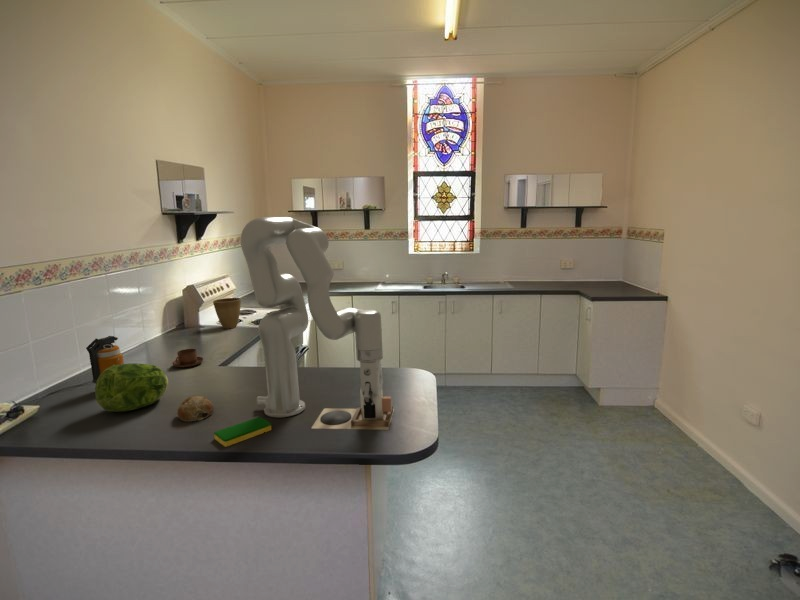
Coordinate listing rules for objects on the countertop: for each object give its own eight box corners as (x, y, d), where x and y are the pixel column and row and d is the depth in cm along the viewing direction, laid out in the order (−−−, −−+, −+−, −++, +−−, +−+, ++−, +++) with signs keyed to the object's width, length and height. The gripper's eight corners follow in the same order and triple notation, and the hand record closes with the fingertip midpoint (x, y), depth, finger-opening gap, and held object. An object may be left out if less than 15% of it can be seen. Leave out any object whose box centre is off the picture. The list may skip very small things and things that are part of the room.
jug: (359, 423, 135) (358, 393, 134) (364, 413, 141) (362, 385, 140) (390, 423, 134) (389, 393, 133) (393, 414, 140) (391, 385, 139)
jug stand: (311, 431, 133) (310, 423, 133) (324, 411, 147) (323, 403, 146) (388, 432, 131) (388, 424, 130) (394, 412, 144) (394, 404, 144)
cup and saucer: (196, 369, 195) (194, 354, 194) (167, 370, 195) (165, 355, 194) (208, 360, 207) (206, 346, 206) (181, 361, 207) (179, 347, 206)
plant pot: (247, 324, 277) (245, 297, 274) (236, 330, 262) (233, 301, 259) (223, 324, 278) (220, 297, 275) (211, 330, 264) (207, 302, 261)
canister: (132, 386, 176) (125, 334, 173) (103, 397, 166) (94, 342, 163) (116, 384, 180) (109, 333, 176) (87, 394, 170) (78, 340, 167)
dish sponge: (214, 440, 131) (213, 431, 131) (260, 423, 141) (259, 416, 140) (225, 448, 126) (224, 440, 126) (272, 431, 136) (271, 423, 135)
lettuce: (179, 409, 160) (182, 363, 163) (118, 412, 142) (123, 361, 144) (148, 409, 168) (151, 365, 170) (86, 412, 149) (90, 363, 152)
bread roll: (188, 435, 142) (192, 414, 139) (168, 415, 147) (172, 395, 143) (216, 422, 151) (221, 402, 148) (197, 404, 155) (201, 384, 152)
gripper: (377, 362, 126) (380, 424, 129) (386, 345, 143) (389, 400, 146) (350, 362, 126) (353, 424, 129) (362, 345, 143) (365, 399, 147)
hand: (372, 411), depth 138 cm, fingers open, 8 cm apart
